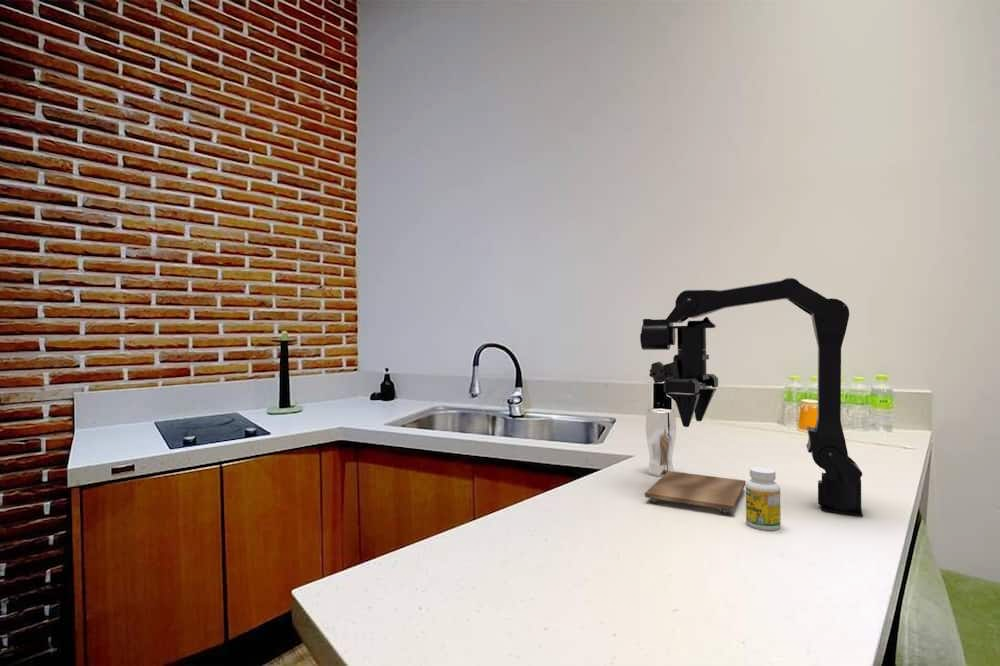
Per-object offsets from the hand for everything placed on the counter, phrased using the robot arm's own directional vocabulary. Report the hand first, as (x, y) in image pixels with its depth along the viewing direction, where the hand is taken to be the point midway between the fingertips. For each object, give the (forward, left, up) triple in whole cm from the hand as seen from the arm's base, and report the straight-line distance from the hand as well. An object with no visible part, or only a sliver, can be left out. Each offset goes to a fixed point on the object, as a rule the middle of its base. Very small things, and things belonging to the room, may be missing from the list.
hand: (692, 423), depth 114 cm
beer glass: (+9, -12, -14) cm, 21 cm away
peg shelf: (-2, +3, -14) cm, 15 cm away
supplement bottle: (-15, +15, -14) cm, 26 cm away
